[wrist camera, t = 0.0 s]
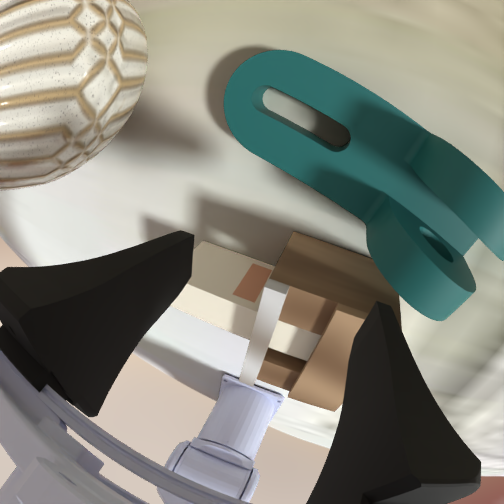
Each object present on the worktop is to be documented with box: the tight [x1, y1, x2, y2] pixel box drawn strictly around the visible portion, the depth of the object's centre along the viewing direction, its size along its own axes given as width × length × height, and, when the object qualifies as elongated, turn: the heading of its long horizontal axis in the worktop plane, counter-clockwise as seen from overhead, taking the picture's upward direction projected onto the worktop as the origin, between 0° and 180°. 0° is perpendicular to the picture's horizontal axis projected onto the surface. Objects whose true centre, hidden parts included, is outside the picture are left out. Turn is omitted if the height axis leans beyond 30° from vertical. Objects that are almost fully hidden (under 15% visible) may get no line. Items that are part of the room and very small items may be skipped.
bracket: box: [224, 50, 504, 321], centre depth 13 cm, size 18×7×8 cm, turn 64°
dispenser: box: [239, 231, 402, 412], centre depth 20 cm, size 10×8×7 cm
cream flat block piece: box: [170, 241, 321, 361], centre depth 21 cm, size 3×12×6 cm, turn 80°
